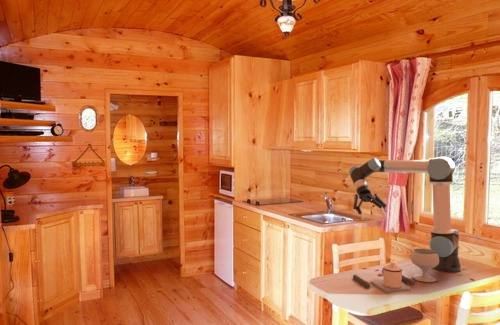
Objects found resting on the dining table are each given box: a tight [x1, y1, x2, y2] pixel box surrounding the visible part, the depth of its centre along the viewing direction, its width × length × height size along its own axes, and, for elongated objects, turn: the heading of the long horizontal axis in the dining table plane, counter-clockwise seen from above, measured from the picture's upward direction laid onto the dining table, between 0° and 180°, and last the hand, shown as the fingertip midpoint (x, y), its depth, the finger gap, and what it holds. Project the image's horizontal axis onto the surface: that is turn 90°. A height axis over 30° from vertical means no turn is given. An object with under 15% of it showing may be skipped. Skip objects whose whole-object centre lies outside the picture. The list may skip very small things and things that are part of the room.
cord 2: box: [402, 274, 414, 286], centre depth 218 cm, size 15×2×2 cm, turn 13°
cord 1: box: [352, 274, 371, 289], centre depth 213 cm, size 15×2×2 cm, turn 13°
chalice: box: [410, 248, 439, 283], centre depth 220 cm, size 14×14×15 cm
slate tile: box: [370, 279, 412, 293], centre depth 209 cm, size 14×14×1 cm
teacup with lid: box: [381, 261, 403, 288], centre depth 209 cm, size 12×9×12 cm
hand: (374, 218), depth 234 cm, fingers open, 13 cm apart
